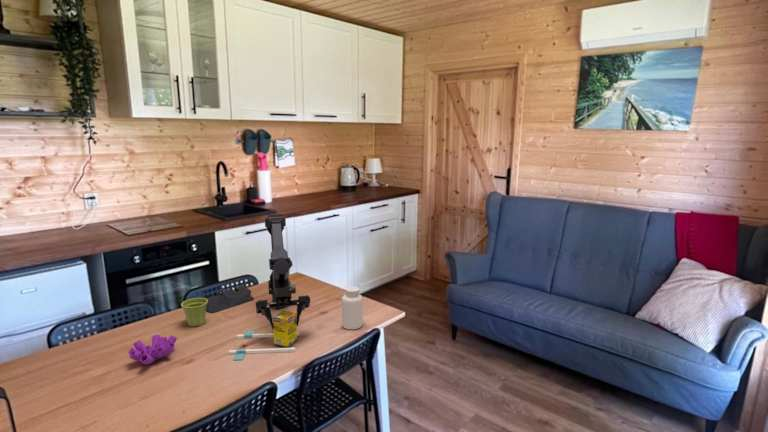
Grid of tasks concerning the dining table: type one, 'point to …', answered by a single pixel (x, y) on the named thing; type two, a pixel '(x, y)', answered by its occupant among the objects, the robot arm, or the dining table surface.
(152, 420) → the dining table surface
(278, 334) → the supplement box
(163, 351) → the purple coral
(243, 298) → the dark slate chunk
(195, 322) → the plant pot
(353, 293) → the pill bottle
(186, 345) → the dining table surface
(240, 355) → the channel
